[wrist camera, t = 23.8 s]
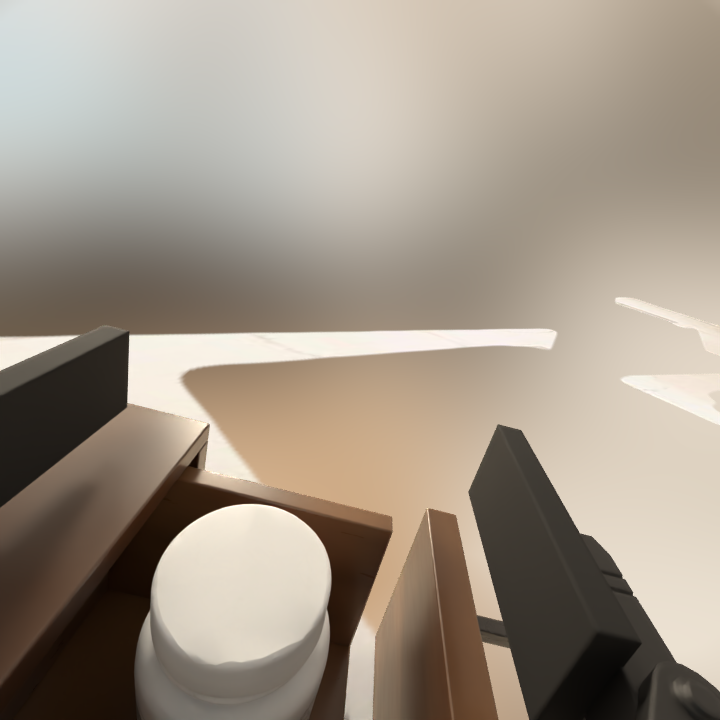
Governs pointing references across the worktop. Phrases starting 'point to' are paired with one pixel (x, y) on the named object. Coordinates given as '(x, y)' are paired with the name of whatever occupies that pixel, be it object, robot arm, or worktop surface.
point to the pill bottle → (236, 620)
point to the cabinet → (82, 527)
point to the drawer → (345, 607)
